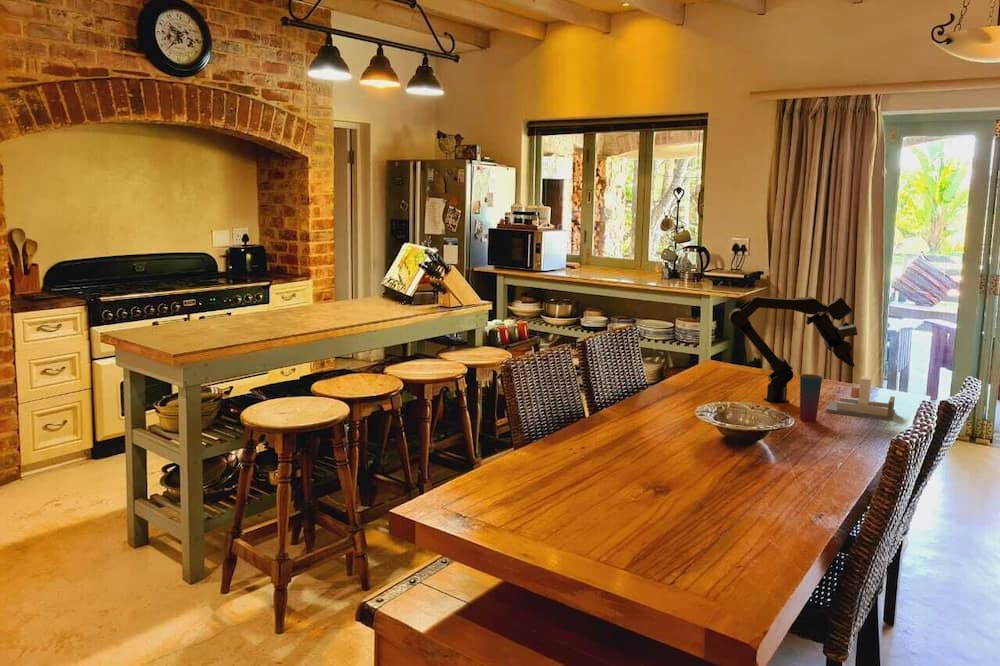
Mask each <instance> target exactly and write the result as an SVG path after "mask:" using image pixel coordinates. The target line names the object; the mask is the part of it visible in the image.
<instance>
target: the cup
mask: <svg viewBox="0 0 1000 666" xmlns="http://www.w3.org/2000/svg"><path fill="white" fill-rule="evenodd" d="M799 380H800V381H799V420H800V421H802V422H804V423H805V422H806V423H814V422H816V421H817V415H818V409H819V402H820V395H821V390H822V389H821V388H822V381H823V376H821V375H818V374H811V373H804V374H803V373H802V374H800V377H799Z"/></svg>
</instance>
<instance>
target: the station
mask: <svg viewBox="0 0 1000 666" xmlns="http://www.w3.org/2000/svg"><path fill="white" fill-rule="evenodd" d="M895 398H896V397H895V396H892V395H891V396H890V398H889V400H888V402H884V401H876V400H869V405H862V404H858V398H850V397H843V396H840V397H839V401H831V402H829V405H828V406H827V407H826V409H825V412H826V413H832V414H840V415H846V416H853V417H861V418H868V419H869V418H870V419H876V420H882V421H883V420H884V421H889V422H892V421H893V419H894V416H895V413H896V410H895V409H894V408H895Z"/></svg>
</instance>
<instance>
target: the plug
mask: <svg viewBox="0 0 1000 666" xmlns="http://www.w3.org/2000/svg"><path fill="white" fill-rule="evenodd" d="M872 378H873V377H872V376H867V375H866V376H865V375H864V376H863V375H862V376H861V377H860V379H859V387H852V388H851V393H850V397H851V398H853V399H858V404H862V405H869V401H871V399H870V398H871V388H872Z"/></svg>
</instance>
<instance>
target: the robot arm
mask: <svg viewBox="0 0 1000 666" xmlns="http://www.w3.org/2000/svg"><path fill="white" fill-rule="evenodd" d="M758 309H773V310H776V309H777V310H789V311H795V312H799V313H802V314H807V316H806V319H805V324H806V325H810V324H812V325H813V326H814V327H815V329H816V331H817V332H818V334H819V336H820V337H821V338H822V340H823V345H824V346H825V348H826V349H827V350H829V351H830V352H831V353H832V354H833V355H834V356H835V357H836V358H837V359H839V360H840V361H842V362H843V363H845V364H846V365H848V366H849V367H850V368H854V367H855V366H856V365H855V363H854V361H853V360H854V359H853V357H852V355H851V351H852V350H853V345H852V344H851V343H850V342H849V341H848V340H846V338H847V337H848V338H849V337H852V336H858V330H857V329H858V328H857V326H856V324H850V323H849V322H847V321H845V322H842V324H841V326H840V327H838V326H836V325H835V324H834V323H833V321H837V322H839V321H840V320H842V319H844V318H846V317H847V316H849V315H851V314H852V313H853V311H852V309H851V307H850V305H848V304H847V302H846V301H845V300H844V299H843V297H841V296H839V297H838V298H836V299H835V300H833V301H832V302H830V303H828V304H826V303H821V302H820V301H819V300H818V299H817V298H815V297H813V296H804V297H796V298H784V297H783V298H782V297H769V296H767V297H766V296H759V295H754V296H752V297H751V298H750V299H749V300H747V301H746V302H745V303H744V304H742V305H740V306H739V307H738V308H733V309H732V310H731V311H730V312H729V315H728V317H729V320H730V323H731V324H732V325H733V326H735V328H737V329H738V330H739V331H741V333H743V334H744V335H745V336H746V337H747V338H748V339H749V341H750V342H751V343H752V344H753V346H754V347H755V348H756V349H757V350H758V352H759V353H760V354H761V356H762V357H764V359H765V360H766V361H767V363H768V364H769V366H770V368H771V369H772V371H773V372H771V373H770V374H769V375H767V377H768V378H767V379H768V381H769V383H768V384H767V391H766V397H763V400H764V401H768V402H771V403H772V404H773V403H774V404H781V403H788V402H790V400H789V399H787V395H788V394H787V393H788V388H787V386H788V384H789V382H791V381H792V379H793V377H794V372H793V366H792V365H791V364H790V363H788V361H787V359H786V358H785V357H784V356H783V357H782V358H780V357H779V356H777V355H776V354H775V353H774V351H773V350H772V349H771V347H770V346H769V345H768V344H767V343H766V342H765V341H764V339H763V338H762V337H761V335H759V332H757V330H755V328H754V326H752V324H751V321H750V320H749V318H750V317H751V316H752V315H753V314H754V313H755V312H756V311H757V310H758ZM808 315H810V316H808ZM831 319H832V320H833V321H832V320H831Z"/></svg>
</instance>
